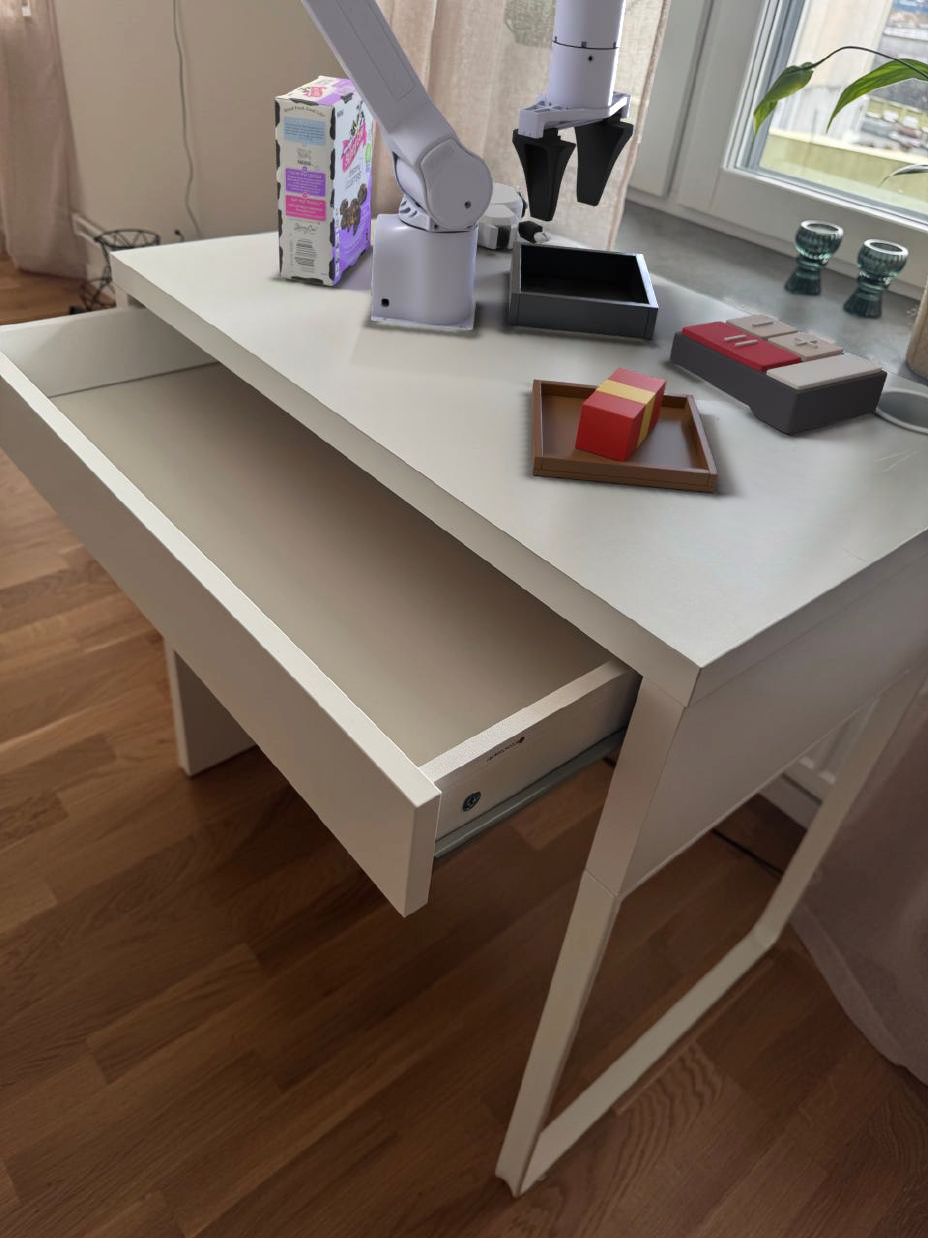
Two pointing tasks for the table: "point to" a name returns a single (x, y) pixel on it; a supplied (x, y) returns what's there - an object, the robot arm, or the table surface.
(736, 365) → the calculator
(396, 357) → the table surface
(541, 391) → the tray
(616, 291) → the dark grey open bin
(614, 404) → the red yellow banded block
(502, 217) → the robot toy
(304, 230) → the candy box
